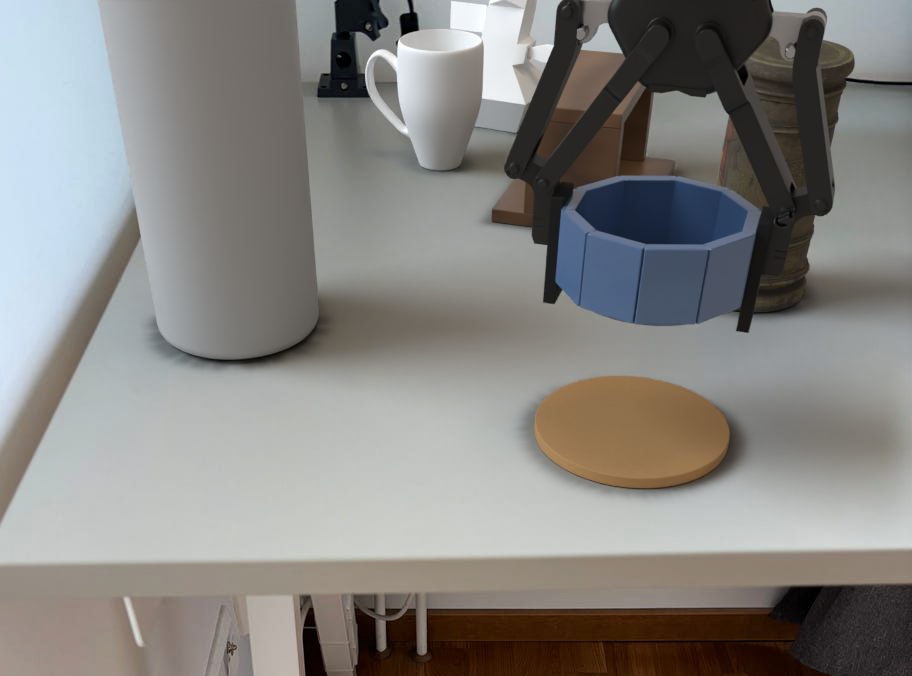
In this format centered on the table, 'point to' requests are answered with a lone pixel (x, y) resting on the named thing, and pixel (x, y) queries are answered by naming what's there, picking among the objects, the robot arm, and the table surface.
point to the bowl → (656, 249)
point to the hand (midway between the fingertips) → (647, 308)
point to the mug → (435, 92)
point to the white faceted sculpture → (504, 58)
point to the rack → (608, 150)
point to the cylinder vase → (218, 169)
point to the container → (781, 113)
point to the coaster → (631, 431)
